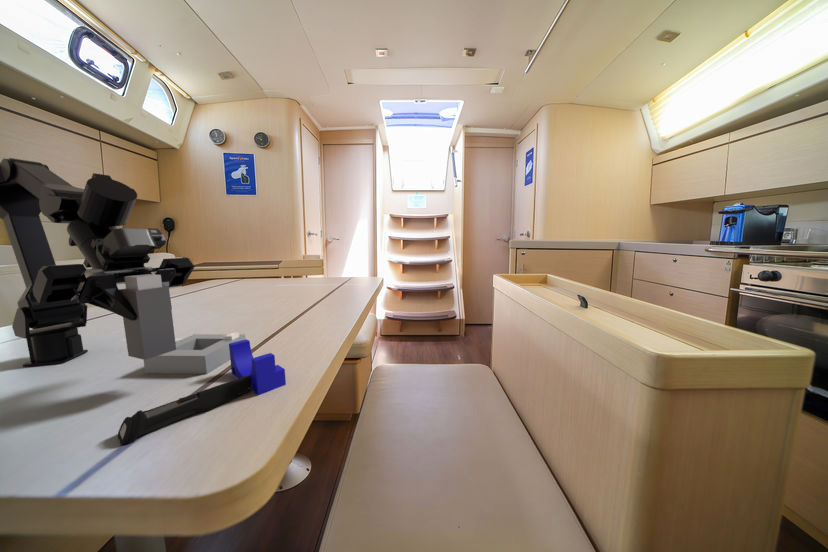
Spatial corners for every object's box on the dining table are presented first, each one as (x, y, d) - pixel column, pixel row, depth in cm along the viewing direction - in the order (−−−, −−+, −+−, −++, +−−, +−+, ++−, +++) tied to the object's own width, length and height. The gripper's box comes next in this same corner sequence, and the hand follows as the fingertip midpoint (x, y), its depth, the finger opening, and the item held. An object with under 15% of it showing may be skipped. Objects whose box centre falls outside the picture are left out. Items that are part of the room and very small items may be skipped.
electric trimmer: (256, 396, 47) (254, 377, 46) (121, 449, 35) (118, 425, 34) (246, 389, 49) (244, 371, 49) (117, 437, 37) (114, 413, 37)
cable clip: (285, 385, 50) (283, 352, 49) (258, 396, 46) (255, 361, 45) (257, 366, 57) (254, 337, 56) (231, 374, 54) (228, 343, 53)
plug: (128, 356, 47) (117, 276, 45) (160, 346, 51) (150, 273, 49) (145, 359, 45) (133, 278, 44) (176, 349, 49) (167, 274, 48)
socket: (145, 373, 54) (142, 351, 54) (195, 348, 66) (193, 330, 66) (206, 373, 54) (204, 351, 53) (246, 349, 66) (244, 331, 65)
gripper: (27, 205, 38) (85, 292, 35) (182, 215, 55) (229, 274, 53) (11, 263, 41) (63, 346, 39) (161, 255, 59) (204, 312, 56)
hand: (153, 314), depth 47 cm, fingers closed on plug, 4 cm apart
